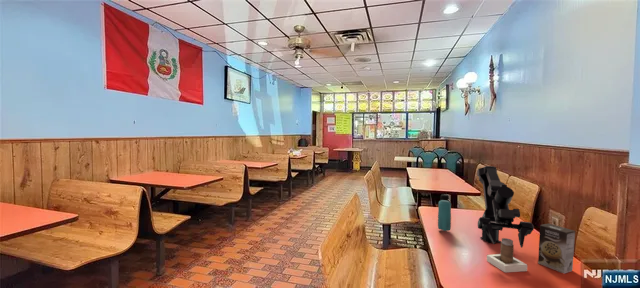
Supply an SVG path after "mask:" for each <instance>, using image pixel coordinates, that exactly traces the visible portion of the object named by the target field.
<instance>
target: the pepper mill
mask: <svg viewBox="0 0 640 288" xmlns="http://www.w3.org/2000/svg"><path fill="white" fill-rule="evenodd" d="M514 245H515V244H514V240H512V239H510V238H506V237H505V238H504V237H503V238H501V243H500V252H499V254H500V261H501V262H503V263H505V264H513V257H514Z"/></svg>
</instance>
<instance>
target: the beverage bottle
mask: <svg viewBox="0 0 640 288" xmlns="http://www.w3.org/2000/svg"><path fill="white" fill-rule="evenodd" d="M449 200H450V197H449V194H445V193H444V194H443V193H442V194H441V195H440V200H439V201H438V211H437V228H438V229H439V230H440V231H444V232H445V231H446V232H447V231H451V228H452V222H451V221H452V203H451V201H449Z"/></svg>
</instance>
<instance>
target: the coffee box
mask: <svg viewBox="0 0 640 288" xmlns="http://www.w3.org/2000/svg"><path fill="white" fill-rule="evenodd" d="M575 238H576V231H575V230H574V229H569V228H566V227H563V226H559V225H555V224H552V223H544V224H540V225H539V240H538V256H537V257H538V260H537V264H539V265H540V266H541V265H542V266H544V267H546V268H548V269H552V270H553V271H557V272H558V273H561V274H567V273H570V272H573V271H572V270H573V269H574V267H573V266H574V264H573V263H574V253H575Z"/></svg>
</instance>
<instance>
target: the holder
mask: <svg viewBox="0 0 640 288" xmlns="http://www.w3.org/2000/svg"><path fill="white" fill-rule="evenodd" d="M486 262H488V263H489V264H491V265H492V266H494V267H496V268H498V269H499V270H500V271H502V272H503V273H517V272H527V271H528V264H527V263H525V262H523V261H521V260H520V259H518V258H516V257H514V256H513V264H505V263H503V262H501V261H500V253H496V254H487V255H486Z"/></svg>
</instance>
